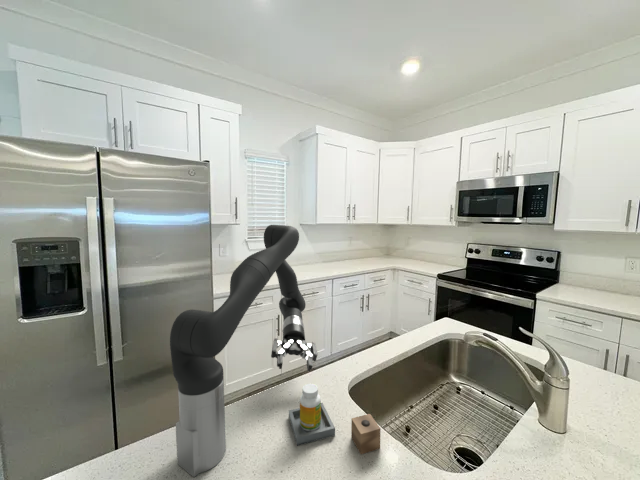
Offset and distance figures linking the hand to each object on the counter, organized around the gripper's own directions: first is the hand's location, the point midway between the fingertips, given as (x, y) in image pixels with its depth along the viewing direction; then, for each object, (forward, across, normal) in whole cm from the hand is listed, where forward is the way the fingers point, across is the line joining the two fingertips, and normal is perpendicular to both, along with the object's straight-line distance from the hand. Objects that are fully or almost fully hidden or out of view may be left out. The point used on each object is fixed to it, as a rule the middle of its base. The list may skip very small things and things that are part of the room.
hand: (295, 367), depth 79 cm
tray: (+13, +5, +6) cm, 15 cm away
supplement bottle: (+13, +4, +6) cm, 15 cm away
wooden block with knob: (+20, +16, +2) cm, 26 cm away
